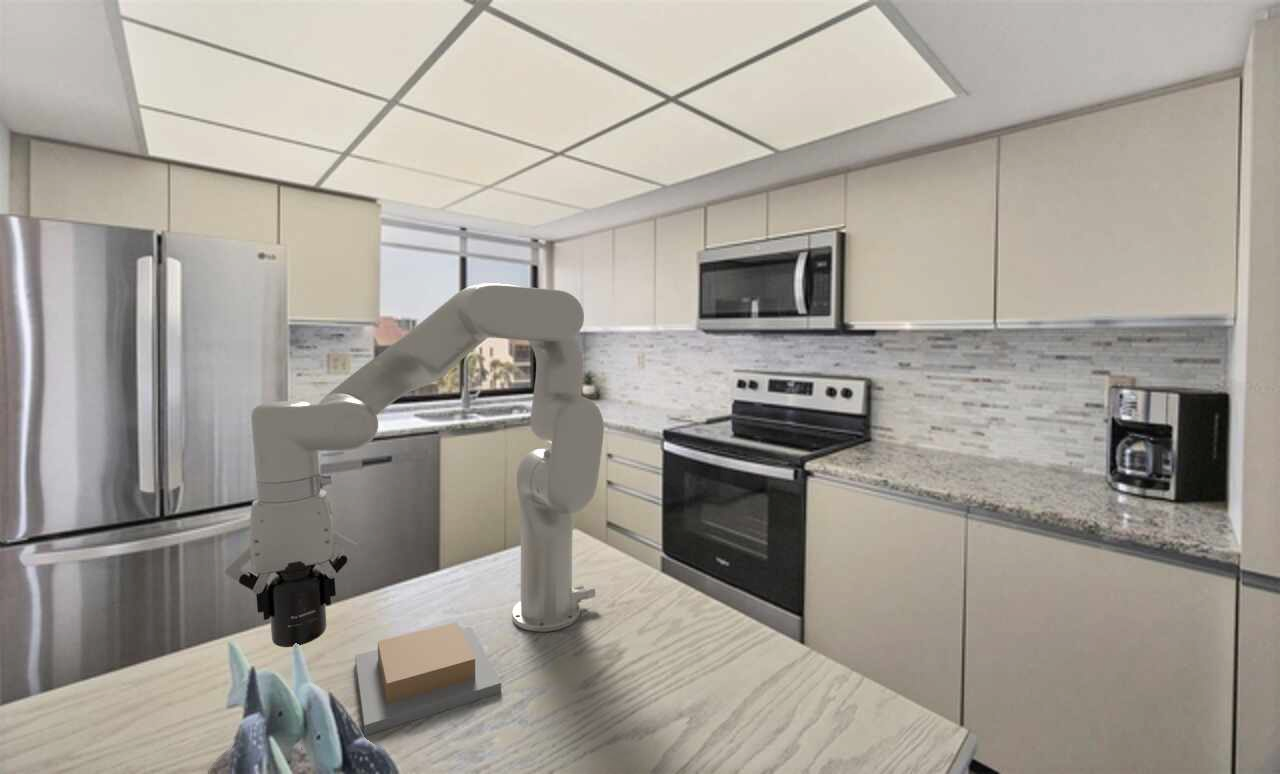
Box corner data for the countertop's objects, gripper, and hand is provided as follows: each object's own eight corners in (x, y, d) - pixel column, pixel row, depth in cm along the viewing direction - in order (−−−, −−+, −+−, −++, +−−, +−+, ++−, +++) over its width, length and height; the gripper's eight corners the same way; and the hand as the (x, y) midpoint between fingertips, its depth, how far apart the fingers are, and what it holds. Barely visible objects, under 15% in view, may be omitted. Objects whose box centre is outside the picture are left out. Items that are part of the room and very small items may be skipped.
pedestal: (470, 634, 96) (470, 609, 95) (501, 692, 80) (501, 663, 80) (355, 664, 86) (354, 636, 86) (364, 736, 71) (364, 703, 71)
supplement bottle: (301, 651, 75) (294, 568, 74) (260, 646, 77) (253, 564, 76) (338, 625, 82) (332, 548, 81) (299, 620, 84) (293, 545, 82)
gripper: (356, 474, 85) (363, 583, 87) (216, 491, 76) (227, 613, 78) (360, 485, 78) (367, 603, 80) (207, 506, 70) (220, 638, 71)
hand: (298, 607), depth 79 cm, fingers closed on supplement bottle, 6 cm apart
